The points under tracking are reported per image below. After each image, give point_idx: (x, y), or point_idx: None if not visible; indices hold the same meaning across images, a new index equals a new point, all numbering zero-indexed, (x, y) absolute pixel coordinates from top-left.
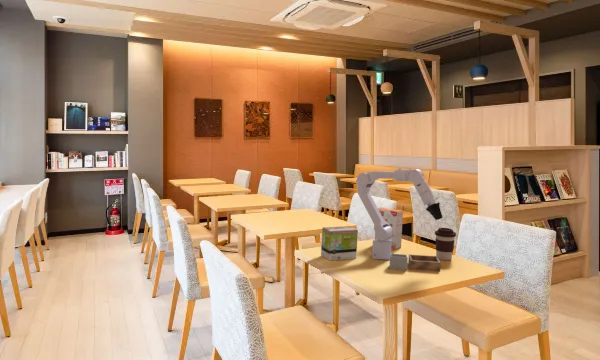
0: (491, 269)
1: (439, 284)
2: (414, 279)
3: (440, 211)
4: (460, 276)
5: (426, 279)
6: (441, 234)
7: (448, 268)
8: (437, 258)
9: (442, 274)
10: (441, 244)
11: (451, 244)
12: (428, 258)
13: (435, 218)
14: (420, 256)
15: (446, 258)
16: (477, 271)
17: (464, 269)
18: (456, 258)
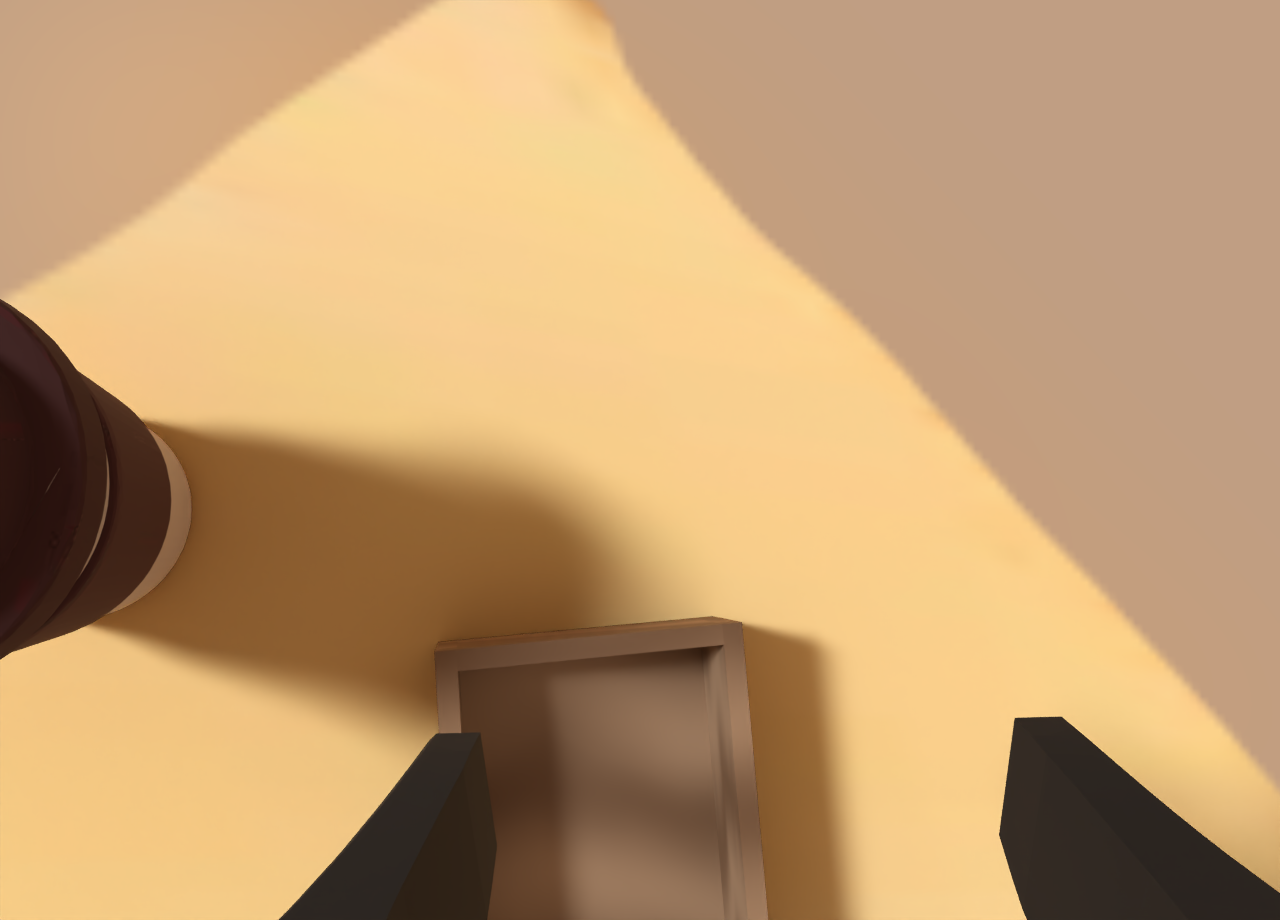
0: (451, 18)
1: (1136, 653)
2: None
3: (1236, 867)
4: (824, 413)
5: None
6: (58, 584)
7: (566, 505)
8: (553, 647)
9: (819, 597)
10: (117, 568)
11: (103, 395)
12: None
13: (485, 897)
14: None
15: (187, 488)
16: (582, 194)
17: (548, 324)
18: None
